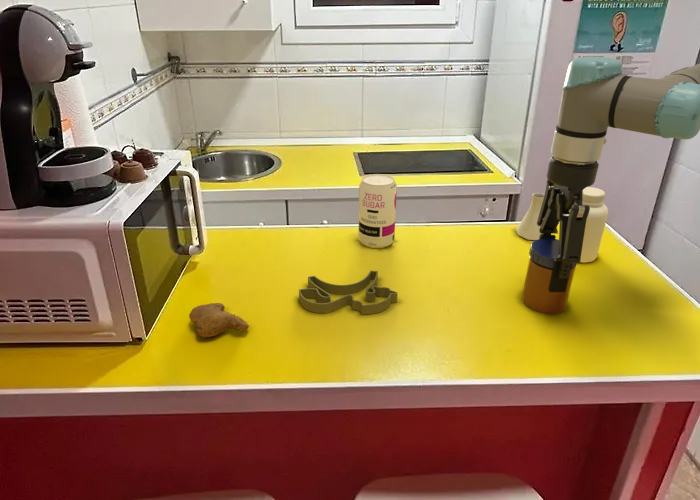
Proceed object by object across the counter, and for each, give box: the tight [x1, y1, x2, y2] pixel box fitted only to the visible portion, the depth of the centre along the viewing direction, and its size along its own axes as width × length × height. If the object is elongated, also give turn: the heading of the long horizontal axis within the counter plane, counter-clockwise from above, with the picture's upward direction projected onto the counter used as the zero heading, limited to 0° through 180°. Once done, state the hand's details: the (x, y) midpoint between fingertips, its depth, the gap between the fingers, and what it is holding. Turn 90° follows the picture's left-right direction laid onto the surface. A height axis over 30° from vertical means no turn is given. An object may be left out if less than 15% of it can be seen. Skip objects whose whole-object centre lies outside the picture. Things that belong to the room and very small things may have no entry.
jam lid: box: [528, 238, 579, 268], centre depth 93 cm, size 8×8×2 cm
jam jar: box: [521, 256, 577, 315], centre depth 95 cm, size 8×8×10 cm
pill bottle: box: [565, 186, 609, 264], centre depth 111 cm, size 8×8×15 cm
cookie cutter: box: [298, 270, 398, 316], centre depth 98 cm, size 18×12×2 cm, turn 100°
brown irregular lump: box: [188, 302, 250, 338], centre depth 90 cm, size 10×10×4 cm
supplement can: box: [357, 173, 398, 249], centre depth 116 cm, size 8×8×15 cm
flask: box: [515, 192, 545, 241], centre depth 121 cm, size 7×7×10 cm
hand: (548, 278), depth 95 cm, fingers closed on jam lid, 8 cm apart
